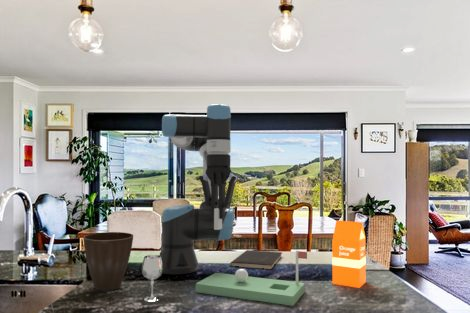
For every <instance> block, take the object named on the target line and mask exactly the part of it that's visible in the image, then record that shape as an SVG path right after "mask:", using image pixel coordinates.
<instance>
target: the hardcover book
mask: <svg viewBox="0 0 470 313" xmlns="http://www.w3.org/2000/svg"><path fill="white" fill-rule="evenodd" d="M282 255H283V252H280V251H266V250H265V251H264V250H254V249H253V250H251V249H250V250H249V249H246V250H244V251H243V252H242V253H241V254H240V255H238V256H237V257H236V258H234V259H233V260H231V261H230V263H229V265H230V267H235V266H239V268H250V269H252V268H253V269H262V268H264V270H271V269H272V268H273V267H274V266H275V265H276V263H277V262H278V261H279V260H280V259H281V257H282ZM274 264H275V265H274Z"/></svg>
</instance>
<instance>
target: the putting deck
mask: <svg viewBox="0 0 470 313" xmlns="http://www.w3.org/2000/svg"><path fill="white" fill-rule="evenodd" d="M299 259H303V260H304V259H306V260H307V259H308V252H307V251H299V250H298V249H297V250H295V281H290V280H284V279H283V280H282V279H274V278H272V279H271V278H264V277H255V276H249V275H248V278H247V280H246V281H245V282H238V281H237V280H236V278H235V274H230V273H222V272H215V273H213V274H211V275H208V276H207V277H205V278H203V279H202V280H200V281H198V282H196V283H195V293H201V294H207V295H215V296H220V297H227V298H228V297H229V298H236V299H242V300H243V299H244V300H248V301H249V300H250V301H257V302H264V303H270V304H271V303H272V304H279V305H286V306H294V305H296V303H297V302H298V301H299V300H300V298H301V297H302V296H303V294H304V293H305V292H306V282H300V281H299Z"/></svg>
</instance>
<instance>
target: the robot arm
mask: <svg viewBox="0 0 470 313" xmlns="http://www.w3.org/2000/svg"><path fill="white" fill-rule="evenodd" d="M231 117H232V114H231V107H230V106H229V105H227V104H223V103H222V104H221V103H216V104H215V103H214V104H209V105H208V106H207V108H206V115H205V114H173V113H172V114H164V115H163V116H162V118H161V134H162V137H166V138H170V141H171V143H172V144H173V146H175V147H177V148H178V149H181V150H185V151H190V152H199V155H200V156H201V158H202V169H203V170H202V175H199V176H198V180H199V181H200V183H201V188H202V193H203V201H202V202H200V205H199V208H195V206H194V204H181V205H173V206H169V207H166V208H164V209H163V210H162V212H161V250H160V252H159V254H158V255H159V256H161V259H162V265H163V270H162V274H165V275H186V274H192V273H195V272H197V271H199V262H198V258H197V254H196V251H195V247H194V241H219V242H220V241H227V240H230V239H231V238H232V236H233V228H234V221H235V220H234V219H235V208H232V207H231V204H232V200H233V196H234V191H235V187H236V183H237V181H238V180H239V176H238V175H235V174H233V173H232V169H231V155H230V153H231ZM227 181H228V185H227ZM226 186H227V189H226Z"/></svg>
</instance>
